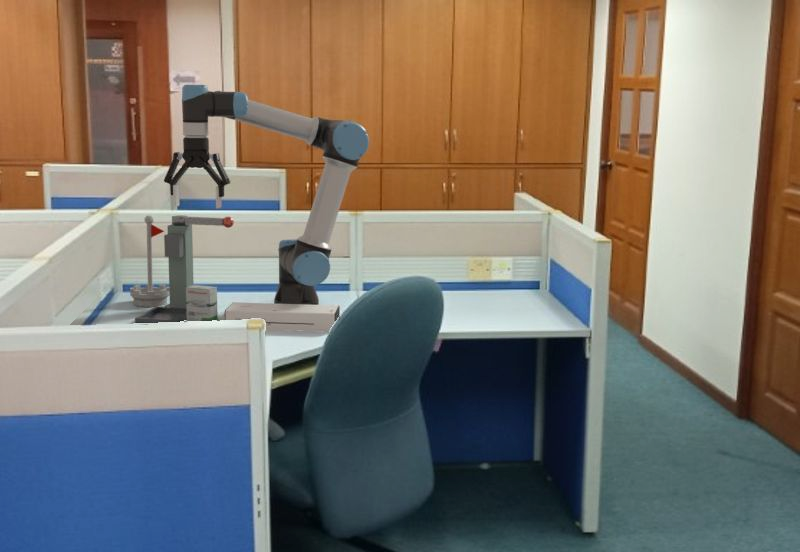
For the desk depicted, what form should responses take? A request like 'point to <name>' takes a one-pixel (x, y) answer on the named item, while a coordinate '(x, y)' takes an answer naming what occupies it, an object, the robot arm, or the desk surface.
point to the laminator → (286, 315)
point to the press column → (179, 262)
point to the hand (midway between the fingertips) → (197, 207)
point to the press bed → (162, 315)
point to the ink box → (201, 303)
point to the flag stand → (150, 276)
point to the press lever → (202, 221)
